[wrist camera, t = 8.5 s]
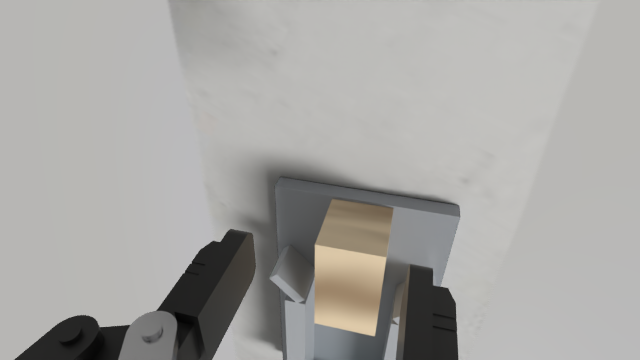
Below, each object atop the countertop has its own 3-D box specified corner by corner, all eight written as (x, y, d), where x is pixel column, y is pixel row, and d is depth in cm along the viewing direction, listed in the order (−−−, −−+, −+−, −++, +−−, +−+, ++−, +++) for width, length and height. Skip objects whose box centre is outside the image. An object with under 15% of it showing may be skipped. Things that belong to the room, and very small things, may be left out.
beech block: (332, 198, 26) (314, 244, 22) (393, 208, 25) (386, 257, 21) (329, 273, 30) (314, 323, 26) (382, 283, 29) (374, 336, 25)
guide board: (280, 176, 27) (258, 213, 24) (459, 205, 25) (462, 250, 22) (287, 353, 39) (272, 395, 36) (409, 384, 37) (406, 431, 33)
